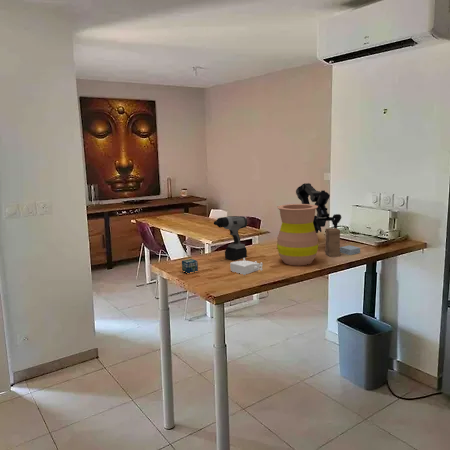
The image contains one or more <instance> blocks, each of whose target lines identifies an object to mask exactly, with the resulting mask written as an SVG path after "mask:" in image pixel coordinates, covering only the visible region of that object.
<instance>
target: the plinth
mask: <svg viewBox="0 0 450 450" xmlns="http://www.w3.org/2000/svg"><path fill="white" fill-rule="evenodd" d="M340 253H342V254H345V255H347V256H352V255H357V254H360V253H361V247H358V246H354V245H350V244H349V245H345V246H340Z"/></svg>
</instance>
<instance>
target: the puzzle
mask: <svg viewBox="0 0 450 450" xmlns="http://www.w3.org/2000/svg"><path fill="white" fill-rule="evenodd" d="M198 265H199V264H198V260H195V259H194V258H188V259H184V260H181V271H182V270H183V271H185V272H187V273H190V272H195V271H198V272H199V269H198V268H199V267H198Z"/></svg>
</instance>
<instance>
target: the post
mask: <svg viewBox="0 0 450 450" xmlns="http://www.w3.org/2000/svg"><path fill="white" fill-rule="evenodd" d="M324 234H325V240H324V241H325V244H324V245H325V246H324V247H325V248H324V249H325V250H324V251H325V252H324V253H325V255H326V256H327V257H329V258H333V257H340V256H341V254H340V247H341V245H340V244H341V229H339V228H338V227H337V228H334V227H330V228H325V233H324Z"/></svg>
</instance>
